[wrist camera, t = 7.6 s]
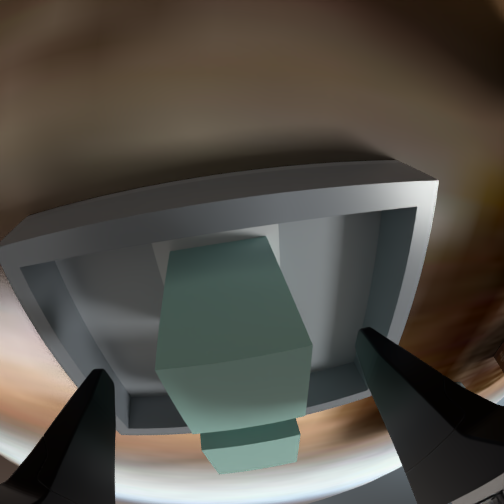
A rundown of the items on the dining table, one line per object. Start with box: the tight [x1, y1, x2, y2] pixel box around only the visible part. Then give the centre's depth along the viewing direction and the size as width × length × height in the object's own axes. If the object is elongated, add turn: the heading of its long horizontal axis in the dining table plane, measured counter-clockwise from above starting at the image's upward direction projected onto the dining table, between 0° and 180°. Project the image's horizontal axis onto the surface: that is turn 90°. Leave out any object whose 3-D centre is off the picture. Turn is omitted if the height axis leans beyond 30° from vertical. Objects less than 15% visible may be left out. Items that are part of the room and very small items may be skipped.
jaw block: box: [155, 236, 313, 434], centre depth 10 cm, size 4×4×6 cm
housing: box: [0, 160, 439, 474], centre depth 12 cm, size 17×14×6 cm
